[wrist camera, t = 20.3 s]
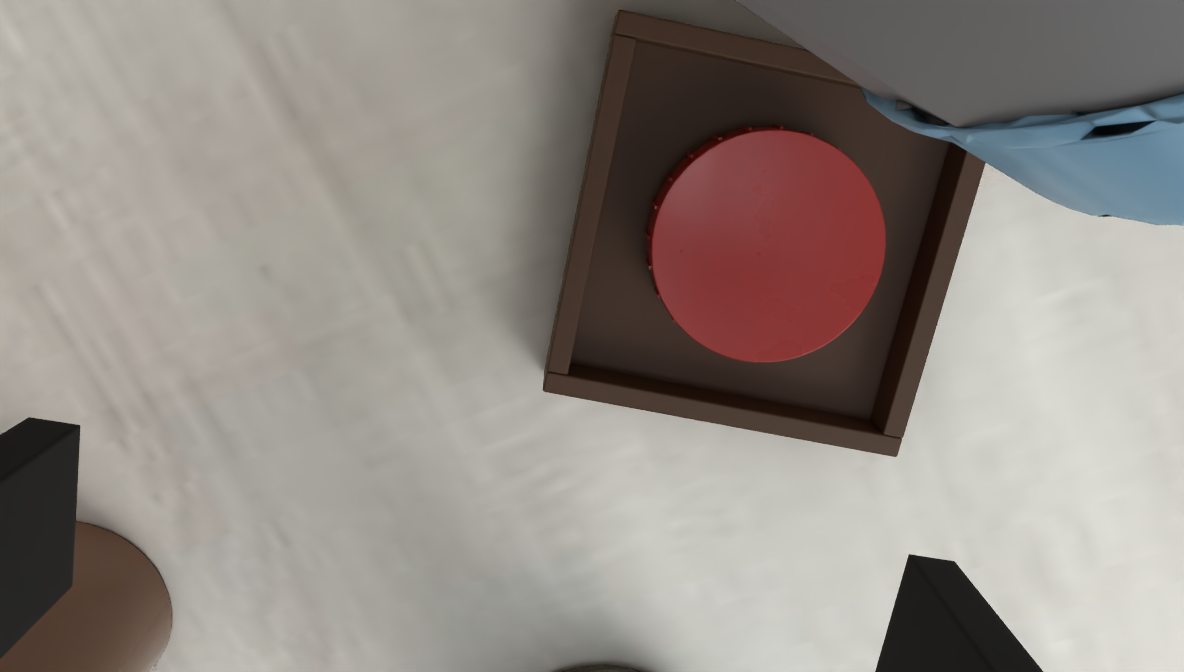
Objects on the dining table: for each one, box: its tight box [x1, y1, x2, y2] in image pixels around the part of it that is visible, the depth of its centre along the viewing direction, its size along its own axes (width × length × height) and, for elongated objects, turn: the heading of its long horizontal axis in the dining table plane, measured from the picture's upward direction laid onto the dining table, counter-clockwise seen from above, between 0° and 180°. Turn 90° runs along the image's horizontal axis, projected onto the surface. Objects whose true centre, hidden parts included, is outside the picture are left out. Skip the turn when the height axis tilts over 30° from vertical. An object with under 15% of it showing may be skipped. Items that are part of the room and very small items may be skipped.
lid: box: [645, 125, 886, 363], centre depth 31 cm, size 7×7×2 cm
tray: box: [543, 10, 986, 457], centre depth 31 cm, size 12×12×2 cm
